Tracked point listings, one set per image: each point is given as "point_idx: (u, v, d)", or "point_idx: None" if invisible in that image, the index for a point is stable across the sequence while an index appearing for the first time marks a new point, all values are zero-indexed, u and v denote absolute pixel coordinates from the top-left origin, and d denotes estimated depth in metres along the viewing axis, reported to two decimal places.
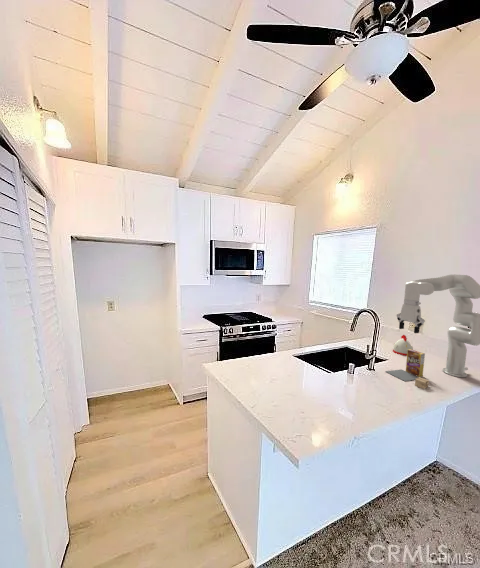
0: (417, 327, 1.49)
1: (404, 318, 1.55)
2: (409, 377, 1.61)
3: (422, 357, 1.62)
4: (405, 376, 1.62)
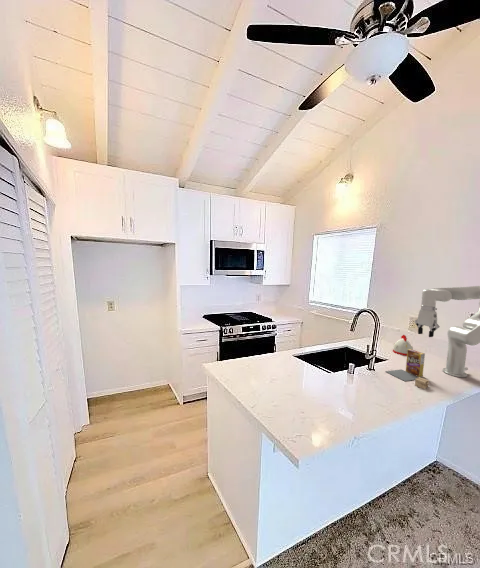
0: (431, 331, 1.63)
1: (421, 322, 1.68)
2: (409, 377, 1.61)
3: (422, 357, 1.62)
4: (405, 376, 1.62)
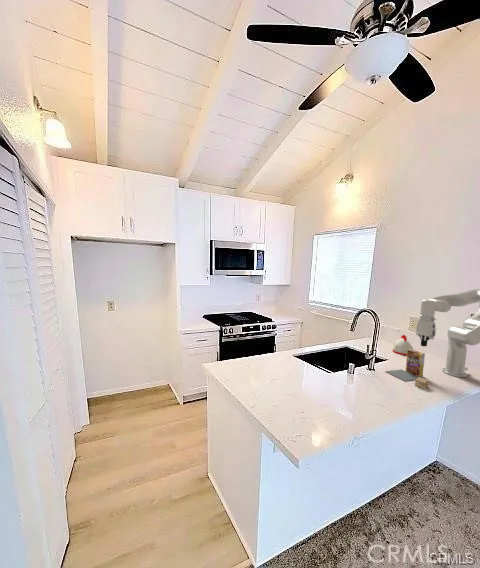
0: (425, 341, 1.66)
1: (420, 332, 1.69)
2: (409, 377, 1.61)
3: (422, 357, 1.62)
4: (405, 376, 1.62)
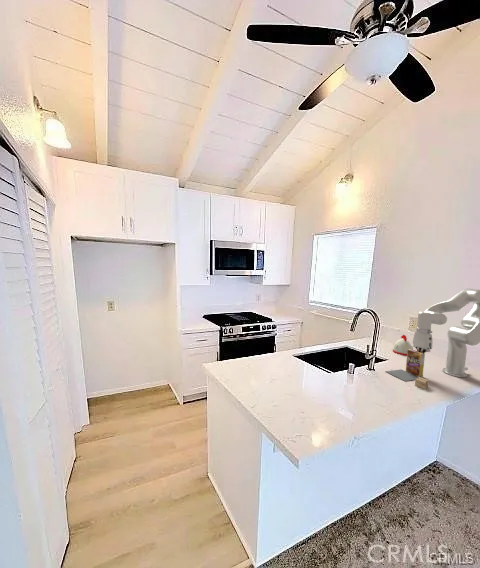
0: None
1: (416, 344, 1.69)
2: (409, 377, 1.61)
3: (422, 357, 1.62)
4: (405, 376, 1.62)
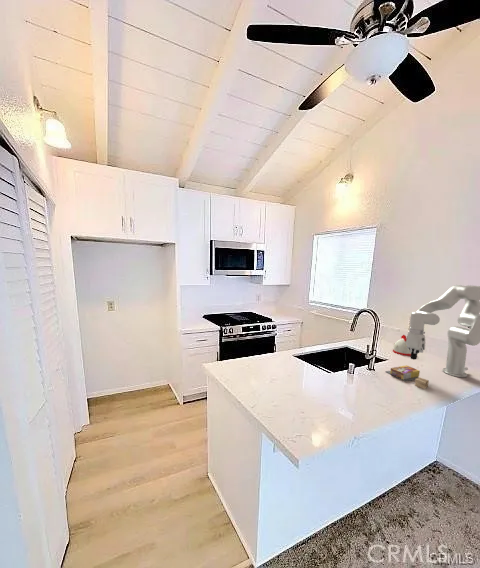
0: (415, 354, 1.64)
1: (409, 345, 1.67)
2: None
3: (405, 376, 1.58)
4: None
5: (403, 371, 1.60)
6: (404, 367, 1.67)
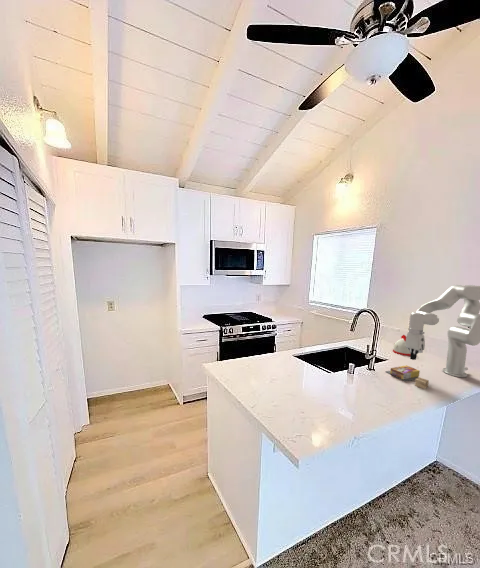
0: (414, 354, 1.64)
1: (409, 345, 1.66)
2: None
3: (405, 376, 1.58)
4: None
5: (403, 371, 1.60)
6: (404, 367, 1.67)
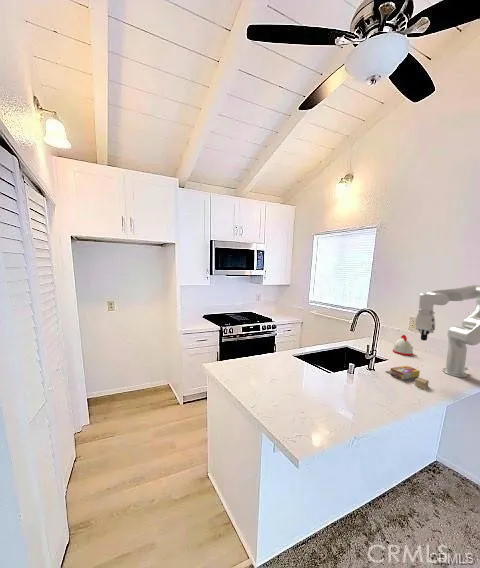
0: (425, 335, 1.66)
1: (419, 326, 1.68)
2: None
3: (405, 376, 1.58)
4: None
5: (403, 371, 1.60)
6: (404, 367, 1.67)
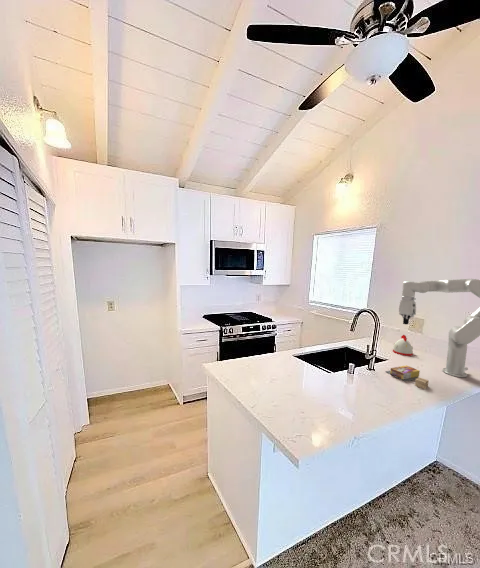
0: (407, 319, 1.81)
1: (402, 311, 1.83)
2: None
3: (405, 376, 1.58)
4: None
5: (403, 371, 1.60)
6: (404, 367, 1.67)
